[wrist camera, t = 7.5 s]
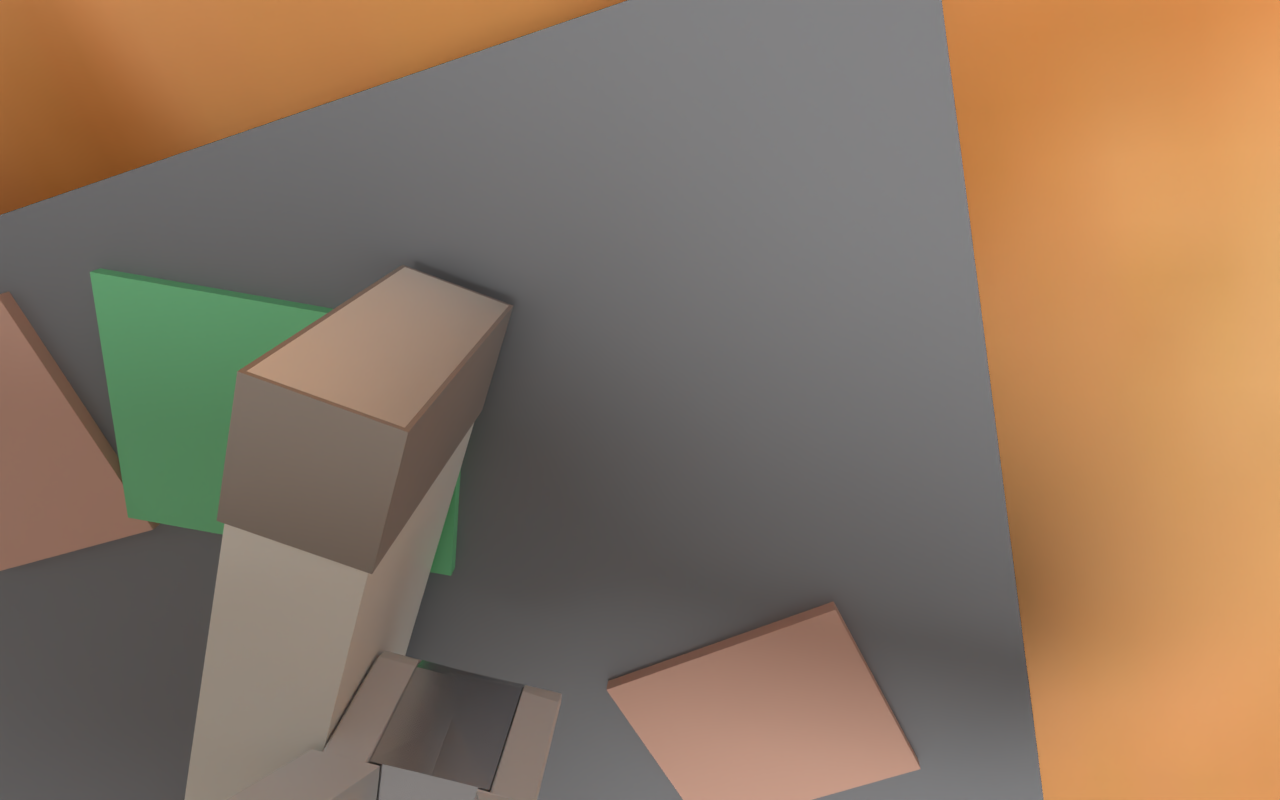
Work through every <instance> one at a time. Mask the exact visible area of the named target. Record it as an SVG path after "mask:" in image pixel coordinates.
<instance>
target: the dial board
mask: <svg viewBox="0 0 1280 800" xmlns="http://www.w3.org/2000/svg"><path fill="white" fill-rule="evenodd" d="M401 265H405V266H408V267H410V268H413V269H416V270H418V271H421V272H424V273H426V274H429V275H432V276H435V277H437V278H440V279H443V280H445V281H448V282H451V283H453V284H456V285H459V286H462V287H464V288H467V289H470V290H472V291H475V292H478V293H480V294H483V295H486V296H489V297H491V298H494V299H497V300H499V301H502V302H505V303H507V304H510V305H513V309H512V312H511V316H510V319H509V322H508V326H507V329H506V332H505V336H504V339H503V342H502V346H501V349H500V352H499V356H498V359H497V362H496V366H495V369H494V373H493V376H492V379H491V383H490V386H489V389H488V393H487V396H486V399H485V403H484V406H483V409H482V411H481V413H480V414H479V416H478V417H477V419H476V420H475V422H474V425H473V428H472V432H471V435H470V438H469V442H468V445H467V448H466V452H465V455H464V459H463V462H462V465H461V469H460V472H459V476H458V479H457V482H456V486H455V489H454V492H453V496H452V499H451V503H450V506H449V509H448V513H447V516H446V519H445V523H444V526H443V530H442V533H441V536H440V540H439V543H438V546H437V550H436V553H435V557H434V560H433V563H432V567H431V570H430V573H429V577H428V580H427V584H426V587H425V590H424V594H423V597H422V600H421V604H420V607H419V611H418V614H417V617H416V621H415V624H414V627H413V631H412V634H411V638H410V641H409V644H408V648H407V651H406V655H405V656H408V657H411V658H415V659H419V660H425V661H429V662H432V663H436V664H440V665H444V666H447V667H451V668H455V669H458V670H463V671H467V672H471V673H476V674H480V675H484V676H489V677H493V678H497V679H502V680H506V681H511V682H515V683H519V684H524V687H525V685H527V686H531V687H536V688H540V689H544V690H548V691H553V692H557V693H561V694H562V699H561V704H560V708H559V712H558V716H557V721H556V725H555V729H554V733H553V737H552V741H551V745H550V750H549V754H548V758H547V762H546V766H545V770H544V774H543V779H542V783H541V787H540V791H539V795H538V799H537V800H1043V792H1042V784H1041V776H1040V768H1039V760H1038V753H1037V745H1036V737H1035V729H1034V721H1033V713H1032V705H1031V698H1030V690H1029V682H1028V674H1027V666H1026V658H1025V651H1024V643H1023V635H1022V627H1021V619H1020V611H1019V604H1018V596H1017V588H1016V580H1015V572H1014V564H1013V557H1012V549H1011V541H1010V533H1009V525H1008V517H1007V510H1006V502H1005V494H1004V486H1003V478H1002V470H1001V462H1000V455H999V447H998V439H997V431H996V423H995V415H994V408H993V400H992V392H991V384H990V376H989V368H988V361H987V353H986V345H985V337H984V329H983V321H982V314H981V306H980V298H979V290H978V282H977V274H976V266H975V259H974V251H973V243H972V235H971V227H970V219H969V212H968V204H967V196H966V188H965V180H964V172H963V165H962V157H961V149H960V141H959V133H958V125H957V118H956V110H955V102H954V94H953V86H952V78H951V71H950V63H949V55H948V47H947V39H946V31H945V23H944V16H943V8H942V0H627V1H624V2H621V3H619V4H616V5H613V6H610V7H607V8H604V9H601V10H598V11H595V12H592V13H589V14H586V15H584V16H581V17H578V18H575V19H572V20H569V21H566V22H563V23H560V24H557V25H554V26H551V27H548V28H546V29H543V30H540V31H537V32H534V33H531V34H528V35H525V36H522V37H519V38H516V39H513V40H510V41H508V42H505V43H502V44H499V45H496V46H493V47H490V48H487V49H484V50H481V51H478V52H475V53H472V54H470V55H467V56H464V57H461V58H458V59H455V60H452V61H449V62H446V63H443V64H440V65H437V66H435V67H432V68H429V69H426V70H423V71H420V72H417V73H414V74H411V75H408V76H405V77H402V78H399V79H397V80H394V81H391V82H388V83H385V84H382V85H379V86H376V87H373V88H370V89H367V90H364V91H361V92H359V93H356V94H353V95H350V96H347V97H344V98H341V99H338V100H335V101H332V102H329V103H326V104H323V105H321V106H318V107H315V108H312V109H309V110H306V111H303V112H300V113H297V114H294V115H291V116H288V117H285V118H283V119H280V120H277V121H274V122H271V123H268V124H265V125H262V126H259V127H256V128H253V129H250V130H248V131H245V132H242V133H239V134H236V135H233V136H230V137H227V138H224V139H221V140H218V141H215V142H212V143H210V144H207V145H204V146H201V147H198V148H195V149H192V150H189V151H186V152H183V153H180V154H177V155H174V156H172V157H169V158H166V159H163V160H160V161H157V162H154V163H151V164H148V165H145V166H142V167H139V168H136V169H134V170H131V171H128V172H125V173H122V174H119V175H116V176H113V177H110V178H107V179H104V180H101V181H99V182H96V183H93V184H90V185H87V186H84V187H81V188H78V189H75V190H72V191H69V192H66V193H63V194H61V195H58V196H55V197H52V198H49V199H46V200H43V201H40V202H37V203H34V204H31V205H28V206H25V207H23V208H20V209H17V210H14V211H11V212H8V213H5V214H2V215H0V800H184V799H185V792H186V785H187V778H188V771H189V764H190V757H191V750H192V744H193V737H194V730H195V723H196V716H197V709H198V702H199V695H200V688H201V681H202V674H203V668H204V661H205V654H206V647H207V640H208V633H209V626H210V619H211V612H212V605H213V599H214V592H215V585H216V578H217V571H218V564H219V557H220V550H221V543H222V536H223V529H224V523H221V522H219V521H217V514H218V506H219V499H220V492H221V485H222V478H223V471H224V463H225V456H226V449H227V442H228V435H229V427H230V420H231V413H232V406H233V399H234V391H235V384H236V377H237V371H239V370H240V369H242V368H243V367H245V366H246V365H248V364H249V363H251V362H253V361H254V360H256V359H257V358H259V357H260V356H262V355H263V354H265V353H266V352H268V351H270V350H271V349H273V348H274V347H276V346H277V345H279V344H280V343H282V342H283V341H285V340H287V339H288V338H290V337H291V336H293V335H294V334H296V333H297V332H299V331H301V330H302V329H304V328H305V327H307V326H308V325H310V324H311V323H313V322H314V321H316V320H318V319H319V318H321V317H322V316H324V315H325V314H327V313H328V312H330V311H332V310H333V309H335V308H336V307H338V306H339V305H341V304H342V303H344V302H345V301H347V300H349V299H350V298H352V297H353V296H355V295H356V294H358V293H359V292H361V291H362V290H364V289H366V288H367V287H369V286H370V285H372V284H373V283H375V282H376V281H378V280H380V279H381V278H383V277H384V276H386V275H387V274H389V273H390V272H392V271H393V270H395V269H397V268H398V267H400V266H401Z"/></svg>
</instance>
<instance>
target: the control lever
mask: <svg viewBox="0 0 1280 800" xmlns="http://www.w3.org/2000/svg"><path fill="white" fill-rule="evenodd" d="M512 309H513V305H510V304H507V303H505V302H502V301H499V300H497V299H494V298H491V297H489V296H486V295H483V294H480V293H478V292H475V291H472V290H470V289H467V288H464V287H462V286H459V285H456V284H453V283H451V282H448V281H445V280H443V279H440V278H437V277H435V276H432V275H429V274H426V273H424V272H421V271H418V270H416V269H413V268H410V267H408V266H405V265H401V266H400V267H398V268H397V269H395V270H393V271H392V272H390V273H389V274H387V275H386V276H384V277H383V278H381V279H380V280H378V281H376V282H375V283H373V284H372V285H370V286H369V287H367V288H366V289H364V290H362V291H361V292H359V293H358V294H356V295H355V296H353V297H352V298H350V299H349V300H347V301H345V302H344V303H342V304H341V305H339V306H338V307H336V308H335V309H333V310H332V311H330V312H328V313H327V314H325V315H324V316H322V317H321V318H319V319H318V320H316V321H314V322H313V323H311V324H310V325H308V326H307V327H305V328H304V329H302V330H301V331H299V332H297V333H296V334H294V335H293V336H291V337H290V338H288V339H287V340H285V341H283V342H282V343H280V344H279V345H277V346H276V347H274V348H273V349H271V350H270V351H268V352H266V353H265V354H263V355H262V356H260V357H259V358H257V359H256V360H254V361H253V362H251V363H249V364H248V365H246V366H245V367H243V368H242V369H240V370H239V371H237V377H236V384H235V391H234V399H233V406H232V413H231V420H230V427H229V435H228V442H227V449H226V456H225V463H224V471H223V478H222V485H221V492H220V499H219V506H218V514H217V521H219V522H221V523H224V529H223V536H222V543H221V550H220V557H219V564H218V571H217V578H216V585H215V592H214V599H213V605H212V612H211V619H210V626H209V633H208V640H207V647H206V654H205V661H204V668H203V674H202V681H201V688H200V695H199V702H198V709H197V716H196V723H195V730H194V737H193V744H192V750H191V757H190V764H189V771H188V778H187V785H186V792H185V799H184V800H227V799H228V798H230V797H232V796H233V795H235V794H237V793H238V792H240V791H242V790H243V789H245V788H247V787H248V786H250V785H252V784H253V783H255V782H257V781H258V780H260V779H262V778H263V777H265V776H267V775H268V774H270V773H272V772H273V771H275V770H277V769H278V768H280V767H282V766H283V765H285V764H287V763H288V762H290V761H292V760H293V759H295V758H297V757H299V756H300V755H302V754H304V753H305V752H307V751H309V750H310V749H312V750H317V751H322V752H323V750H324V748H325V746H326V745H327V743H328V741H329V740H330V738H331V736H332V734H333V733H334V731H335V729H336V727H337V726H338V724H339V722H340V720H341V719H342V717H343V715H344V714H345V712H346V710H347V708H348V707H349V705H350V703H351V701H352V700H353V698H354V696H355V695H356V693H357V691H358V689H359V688H360V686H361V684H362V682H363V681H364V679H365V677H366V675H367V674H368V672H369V670H370V669H371V667H372V665H373V663H374V662H375V660H376V659H377V658H378V657H379V656H380V655H381V654H382V653H383V652H384V651H389V652H393V653H396V654H400V655H404V656H405V655H406V651H407V648H408V644H409V641H410V638H411V634H412V631H413V627H414V624H415V621H416V617H417V614H418V611H419V607H420V604H421V600H422V597H423V594H424V590H425V587H426V584H427V580H428V577H429V573H430V570H431V567H432V563H433V560H434V557H435V553H436V550H437V546H438V543H439V540H440V536H441V533H442V530H443V526H444V523H445V519H446V516H447V513H448V509H449V506H450V503H451V499H452V496H453V492H454V489H455V486H456V482H457V479H458V476H459V472H460V469H461V465H462V462H463V459H464V455H465V452H466V448H467V445H468V442H469V438H470V435H471V432H472V428H473V425H474V422H475V420H476V419H477V417H478V416H479V414H480V413H481V411H482V409H483V406H484V403H485V399H486V396H487V393H488V389H489V386H490V383H491V379H492V376H493V373H494V369H495V366H496V362H497V359H498V356H499V352H500V349H501V346H502V342H503V339H504V336H505V332H506V329H507V326H508V322H509V319H510V316H511V312H512Z"/></svg>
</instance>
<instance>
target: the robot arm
mask: <svg viewBox="0 0 1280 800" xmlns="http://www.w3.org/2000/svg"><path fill="white" fill-rule="evenodd" d="M561 699H562V694H561V693H557V692H553V691H548V690H544V689H540V688H536V687H531V686H527V685H525V687H524V684H519V683H515V682H511V681H506V680H502V679H497V678H493V677H489V676H484V675H480V674H476V673H471V672H467V671H463V670H458V669H455V668H451V667H447V666H444V665H440V664H436V663H432V662H429V661H425V660H419V659H415V658H411V657H408V656H404V655H400V654H396V653H393V652H389V651H384V652H383V653H382V654H381V655H380V656H379V657H378V658H377V659H376V660H375V662H374V663H373V665H372V667H371V669H370V670H369V672H368V674H367V675H366V677H365V679H364V681H363V682H362V684H361V686H360V688H359V689H358V691H357V693H356V695H355V696H354V698H353V700H352V701H351V703H350V705H349V707H348V708H347V710H346V712H345V714H344V715H343V717H342V719H341V720H340V722H339V724H338V726H337V727H336V729H335V731H334V733H333V734H332V736H331V738H330V740H329V741H328V743H327V745H326V746H325V748H324V750H323V752H322V751H317V750H312V749H310V750H309V751H307V752H305V753H304V754H302V755H300V756H299V757H297V758H295V759H293V760H292V761H290V762H288V763H287V764H285V765H283V766H282V767H280V768H278V769H277V770H275V771H273V772H272V773H270V774H268V775H267V776H265V777H263V778H262V779H260V780H258V781H257V782H255V783H253V784H252V785H250V786H248V787H247V788H245V789H243V790H242V791H240V792H238V793H237V794H235V795H233V796H232V797H230V798H228V799H227V800H537V799H538V795H539V791H540V787H541V783H542V779H543V774H544V770H545V766H546V762H547V758H548V754H549V750H550V745H551V741H552V737H553V733H554V729H555V725H556V721H557V716H558V712H559V708H560V704H561Z"/></svg>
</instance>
